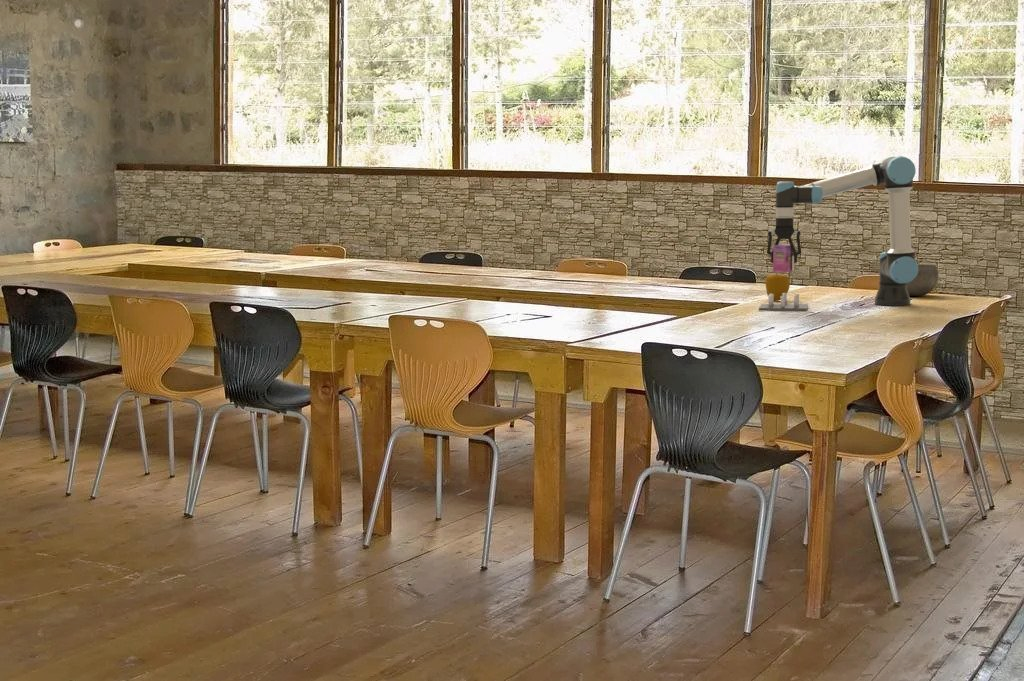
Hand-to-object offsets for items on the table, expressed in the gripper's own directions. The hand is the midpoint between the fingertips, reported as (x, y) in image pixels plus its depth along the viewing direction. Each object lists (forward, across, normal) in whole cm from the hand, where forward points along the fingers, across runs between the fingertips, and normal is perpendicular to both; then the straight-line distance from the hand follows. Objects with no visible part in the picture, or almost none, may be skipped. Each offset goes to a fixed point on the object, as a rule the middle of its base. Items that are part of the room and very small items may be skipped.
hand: (783, 270), depth 550 cm
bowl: (+17, -57, -64) cm, 87 cm away
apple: (+17, +5, -38) cm, 42 cm away
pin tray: (+17, 0, 0) cm, 17 cm away
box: (+1, 0, 0) cm, 1 cm away
